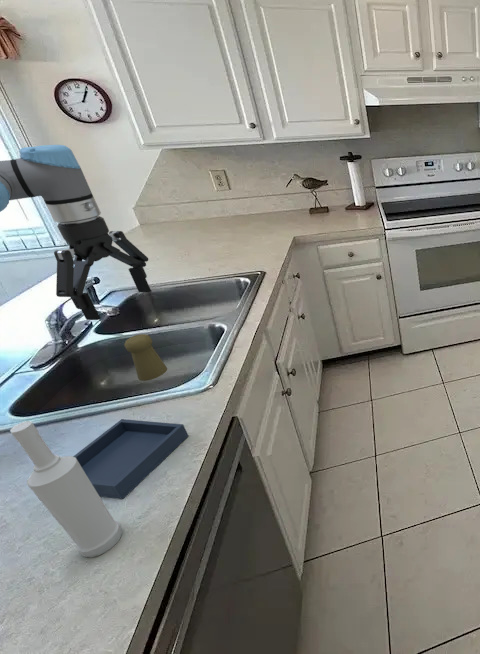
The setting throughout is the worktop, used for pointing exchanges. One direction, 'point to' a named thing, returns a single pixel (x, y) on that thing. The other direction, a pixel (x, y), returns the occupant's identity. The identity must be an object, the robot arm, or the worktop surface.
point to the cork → (145, 357)
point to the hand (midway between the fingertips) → (121, 304)
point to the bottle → (68, 494)
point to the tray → (128, 454)
